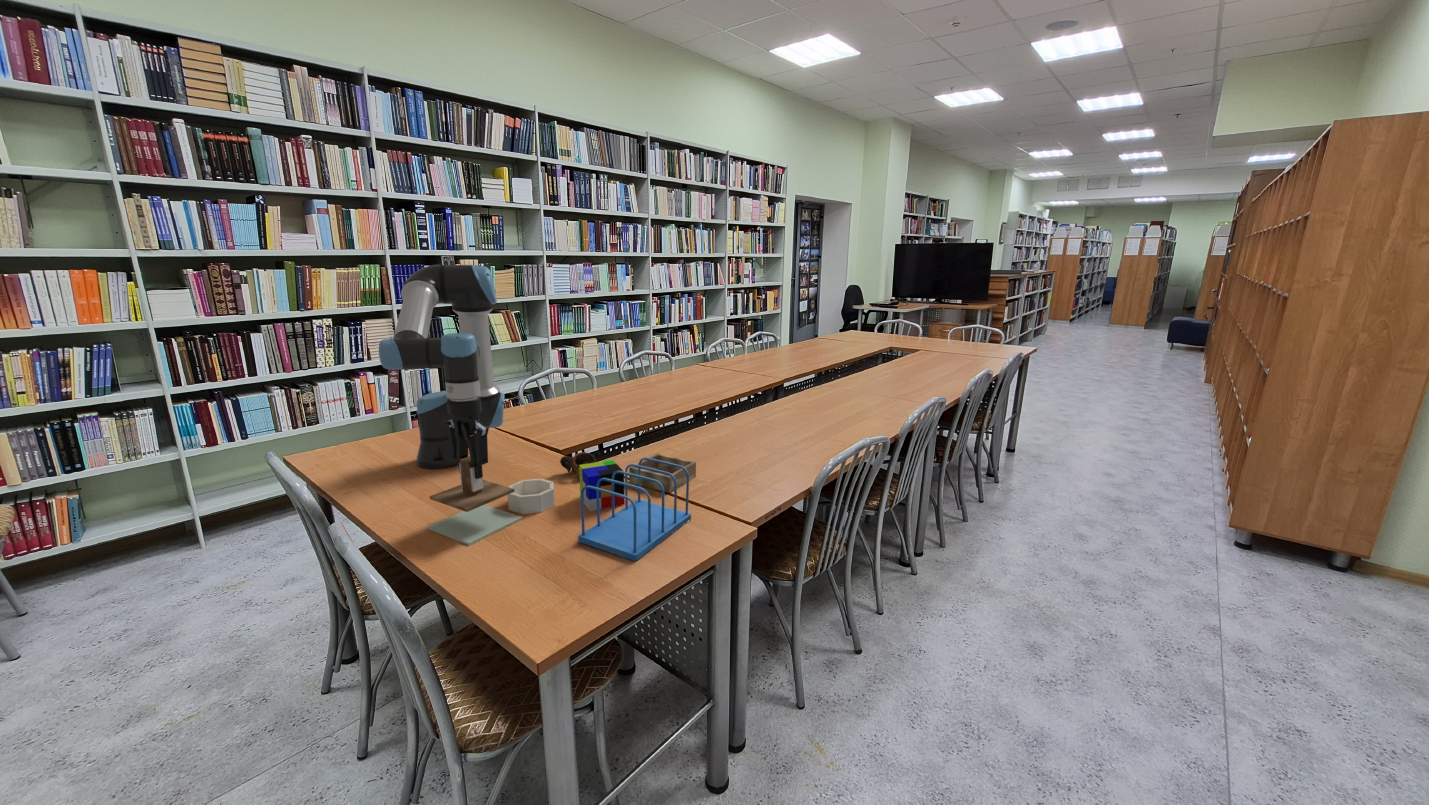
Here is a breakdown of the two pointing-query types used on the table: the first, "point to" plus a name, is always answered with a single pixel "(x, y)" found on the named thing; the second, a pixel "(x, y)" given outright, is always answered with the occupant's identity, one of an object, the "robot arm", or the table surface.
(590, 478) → the puzzle toy
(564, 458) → the animal figurine
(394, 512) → the table surface
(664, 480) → the tray
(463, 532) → the mat
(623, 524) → the file sorter
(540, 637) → the table surface
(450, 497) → the lid
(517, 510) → the bowl
